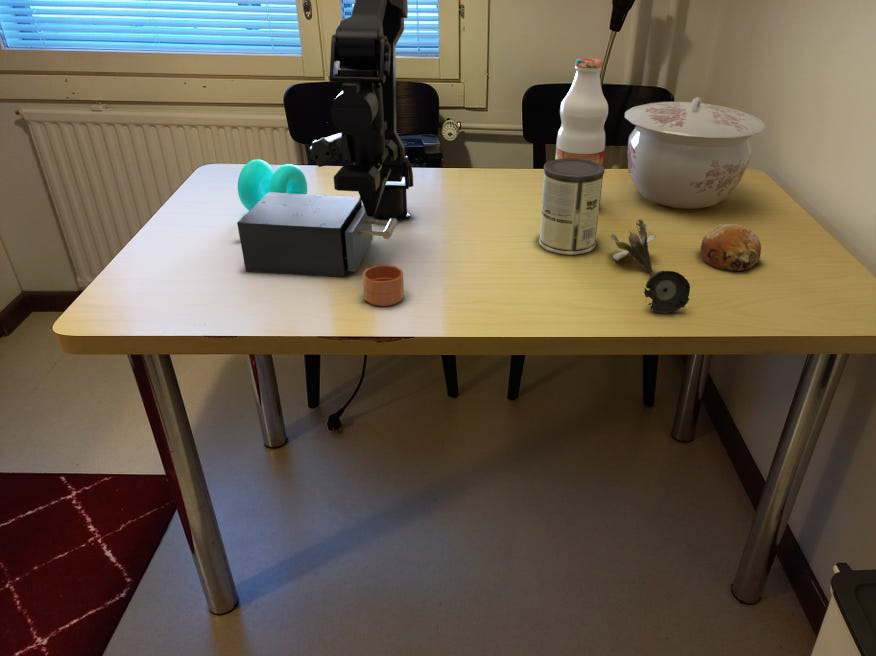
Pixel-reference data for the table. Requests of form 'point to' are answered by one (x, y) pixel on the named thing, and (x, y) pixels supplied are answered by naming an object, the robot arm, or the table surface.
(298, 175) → the donuts
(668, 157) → the chamber pot
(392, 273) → the flower pot
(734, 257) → the bread roll
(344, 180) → the robot arm
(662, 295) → the artificial flower
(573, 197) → the coffee can
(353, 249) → the drawer
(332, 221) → the black drawer cabinet
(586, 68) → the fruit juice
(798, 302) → the table surface
